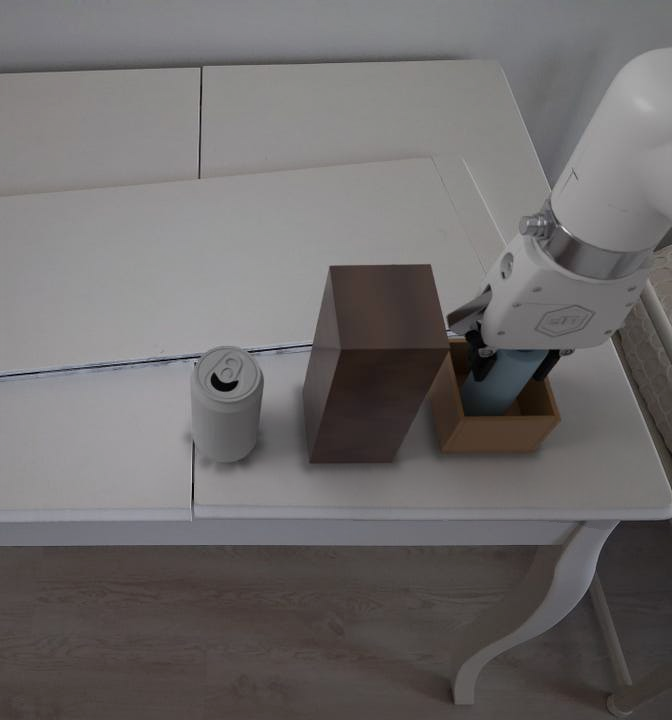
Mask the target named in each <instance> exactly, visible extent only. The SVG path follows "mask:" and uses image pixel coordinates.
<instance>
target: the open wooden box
mask: <svg viewBox="0 0 672 720" xmlns="http://www.w3.org/2000/svg"><path fill="white" fill-rule="evenodd" d="M448 340H449V344H450V350H449V352H448V354H447V356H446V358H445V360H444V362H443V364H442V366H441V368H440V370H439V372H438V374H437V375H436V377H435V379H434V381H433V383H432V385H431V387H430V389H429V391H428V397H429V402H430V405H431V411H432V416H433V421H434V427H435V430H436V435H437V436H436V437H437V441H438V445H439V450H440V453H507V452H509V453H514V452H515V453H516V452H536V450H537V449H538V448H539V446H541V444H542V443H543V442H544V441H545V440H546V439H547V437H548V436H549V435H550V434H551V433H552V432H553V431H554V430H555V428H556V427H557V426H558V425H559V424H560V422H561V421H562V417H561V414H560V411H559V408H558V405H557V402H556V398H555V395H554V392H553V388H552V386H551V381H550V379H549V376H548V375H547V376H546V378H545V379H544V380H543V381H535V380H534V379H533V377H532V376H531V378H530V379H529V381H528V382H527V383H526V385H525V386H524V387H523V389H522V390H521V392H520V393H519V394H518V396H517V397H516V399H515V400H514V401H513V403H512V404H511V405H510V407H509V408H508V410H507V411H506V412H505V414H504V415H503V416H473V417H465V416H464V412H463V408H462V403H461V399H460V395H459V391H460V390H461V388H462V386H463V385H464V383H465V381H466V379H467V378H468V376H469V374H470V373H471V371H472V369H468V368H467V364H466V353H467V351H468V349H469V348H470V346H471V344H470V343H468V342H467V341H466V339H465V337H451V338H450V337H448Z"/></svg>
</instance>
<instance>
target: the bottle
mask: <svg viewBox="0 0 672 720" xmlns="http://www.w3.org/2000/svg"><path fill="white" fill-rule="evenodd" d="M548 352H549V349H498V350H497V351H496V356H497V360H496V362H495V364H494V365H493V367H492V368H491V370H490V372H489V373H488V375H487V376H486V378H485V380H483V381H482V382H475V381H474V377H473V373H472V371H471V373H470V374H469V376H468V378H467V379H466V381H465V383H464V385H463V386H462V388H461V390H460V391H459V395H460V399H461V403H462V408H463V412H464V416H465V417H473V416H503V415H504V414H505V412H506V411H507V410H508V408H509V407H510V405H511V404H512V403H513V401H514V400H515V399H516V397H517V396H518V394H519V393H520V392H521V390H522V389H523V387H524V386H525V385H526V383H527V382H528V381H529V379H530V378H531V376H532V375H533V374H534V372H535V371H536V370H537V368H538V367H539V365H540V364H541V363H542V361H543V360H544V358H545V357H546V356H547V354H548Z"/></svg>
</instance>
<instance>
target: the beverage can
mask: <svg viewBox="0 0 672 720" xmlns="http://www.w3.org/2000/svg"><path fill="white" fill-rule="evenodd" d="M189 385H190V402H191V403H190V407H191V409H190V410H191V433H192V434H191V435H192V440H193V443H194V445H195V447H196V449H197V450H198V451H199V452H200V453H201V454H202V455H203V456H204V457H206V458H207V459H209V460H212V461H214V462H218V463H233V462H237V461H240V460H242V459H244V458H245V457H246V456H248V455H249V454H250V453H251V452H252V451H253V450H254V448H255V446H256V443H257V441H258V434H259V427H260V417H261V411H262V403H263V395H264V388H265V378H264V373H263V370H262V369H261V367H260V365H259V363H258V361H257V359H256V358H255V357H254V356H253V355H252V354H251V353H250V352H248V350H246V349H244V348H241V347H238V346H235V345H219V346H215V347H213V348H210V349H208V350H207V351H205V352H204V353H203V354H202V355H201V356H200V357H199V358H198V360H197V362H196V363H195V365H194V367H193V368H192V370H191V374H190V383H189Z"/></svg>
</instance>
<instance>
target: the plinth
mask: <svg viewBox="0 0 672 720" xmlns="http://www.w3.org/2000/svg"><path fill="white" fill-rule="evenodd" d="M326 275H327V276H326V281H325V286H324V289H323V290H324V291H323V293H322V299H321V305H320V308H319V312H318V317H317V322H316V328H315V330H314V331H315V332H314V336H313V340H312V346H311V350H310V353H309V354H310V355H309V359H308V364H307V368H306V371H305V372H306V373H305V377H304V382H303V386H302V392H301V395H302V404H303V415H304V424H305V426H304V427H305V435H306V436H305V437H306V445H307V457H308V464H312V465H313V464H392V463H393V462H394V460H395V458H396V456H397V454H398V452H399V450H400V449H401V446H402V444H403V442H404V440H405V439H406V436H407V435H408V432H410V431H409V430H410V429H411V427H412V425H413V423H414V421H415V419H416V417H417V415H418V413H419V412H420V409H421V407H422V405H423V403H424V401H425V399H426V397H427V395H428V394H429V392H428V391H429V389H430V387H431V385H432V383H433V381H434V379H435V377H436V375H437V374H438V372H439V370H440V368H441V366H442V364H443V362H444V360H445V358H446V356H447V354H448V352H449V350H450V344H449V340H448V338H449V335H448V332H447V331H448V330H447V327H446V324H445V323H446V322H445V319H444V314H443V310H442V306H441V302H440V297H439V293H438V289H437V285H436V284H437V283H436V280H435V276H434V271H433V267H432V264H431V263H418V264H417V263H413V264H412V263H410V264H409V263H407V264H404V263H403V264H353V265H352V264H347V265H346V264H345V265H344V264H343V265H342V264H341V265H336V264H335V265H329V266H328V271H327V274H326Z"/></svg>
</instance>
